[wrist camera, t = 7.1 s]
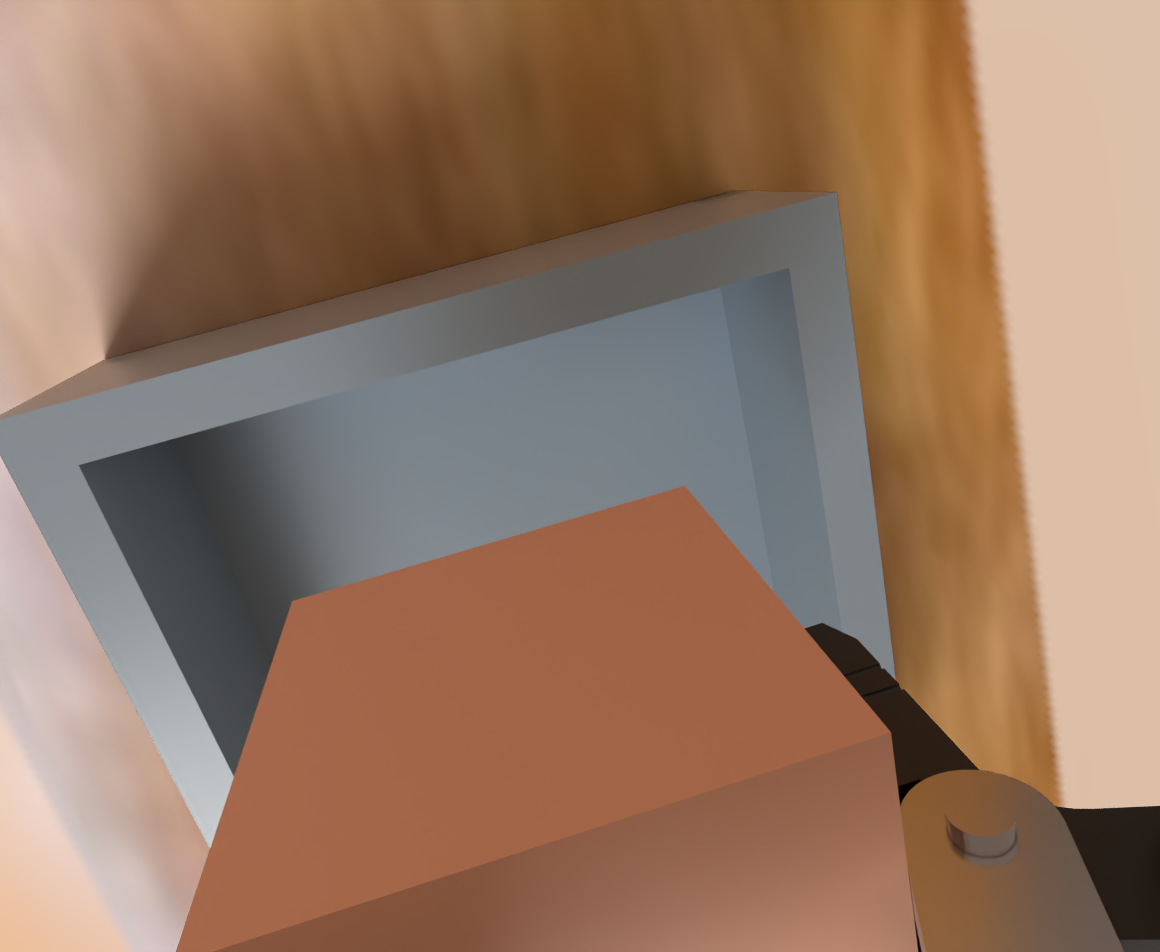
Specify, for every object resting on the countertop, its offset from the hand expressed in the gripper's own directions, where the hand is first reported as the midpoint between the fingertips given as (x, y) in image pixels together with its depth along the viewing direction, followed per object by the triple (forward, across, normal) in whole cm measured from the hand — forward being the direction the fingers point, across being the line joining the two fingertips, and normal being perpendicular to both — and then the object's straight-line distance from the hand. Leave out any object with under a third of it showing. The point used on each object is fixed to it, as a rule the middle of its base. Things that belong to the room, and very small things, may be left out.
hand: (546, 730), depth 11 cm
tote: (+10, 0, +4) cm, 10 cm away
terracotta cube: (0, 0, 0) cm, 0 cm away
